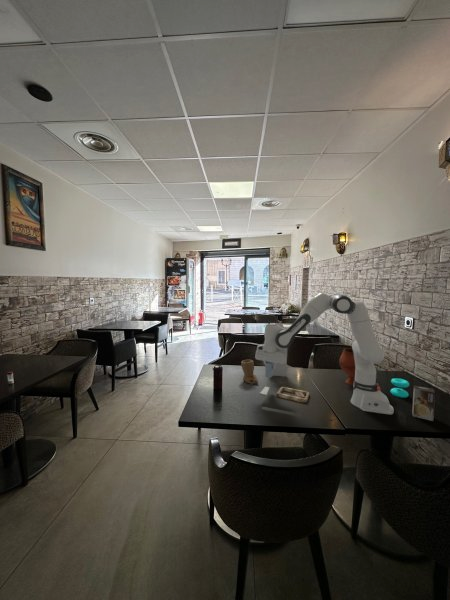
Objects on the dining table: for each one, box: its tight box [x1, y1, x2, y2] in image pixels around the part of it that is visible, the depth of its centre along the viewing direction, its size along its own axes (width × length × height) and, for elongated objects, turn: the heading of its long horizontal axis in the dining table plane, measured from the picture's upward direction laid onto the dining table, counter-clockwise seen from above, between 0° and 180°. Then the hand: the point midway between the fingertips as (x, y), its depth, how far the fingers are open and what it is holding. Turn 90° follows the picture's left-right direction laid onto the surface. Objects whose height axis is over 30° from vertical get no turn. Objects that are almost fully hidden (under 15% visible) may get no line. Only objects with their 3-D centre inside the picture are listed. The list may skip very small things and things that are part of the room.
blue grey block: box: [265, 361, 274, 379], centre depth 168 cm, size 4×7×9 cm, turn 153°
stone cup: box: [241, 359, 259, 385], centre depth 187 cm, size 15×12×15 cm
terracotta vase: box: [338, 347, 355, 386], centre depth 186 cm, size 19×19×25 cm
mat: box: [259, 386, 270, 396], centre depth 169 cm, size 9×12×1 cm
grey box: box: [272, 346, 288, 377], centre depth 200 cm, size 14×6×30 cm, turn 84°
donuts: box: [389, 378, 410, 399], centre depth 169 cm, size 10×10×10 cm
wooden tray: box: [276, 386, 310, 404], centre depth 161 cm, size 18×12×4 cm, turn 63°
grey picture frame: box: [411, 385, 436, 422], centre depth 141 cm, size 9×6×16 cm
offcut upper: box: [294, 392, 306, 398], centre depth 159 cm, size 4×6×2 cm
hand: (269, 368), depth 168 cm, fingers closed on blue grey block, 3 cm apart
